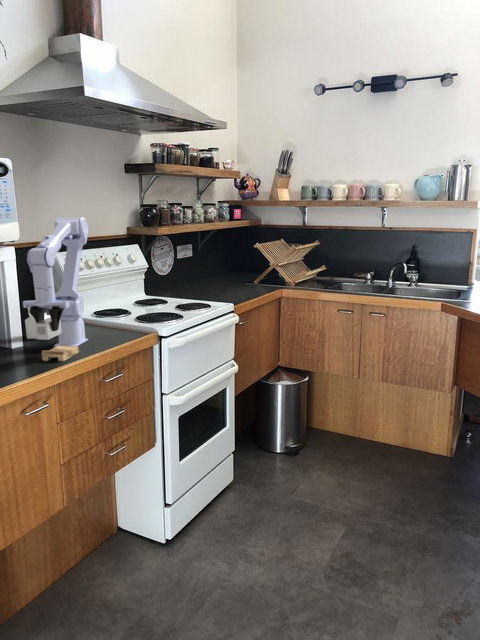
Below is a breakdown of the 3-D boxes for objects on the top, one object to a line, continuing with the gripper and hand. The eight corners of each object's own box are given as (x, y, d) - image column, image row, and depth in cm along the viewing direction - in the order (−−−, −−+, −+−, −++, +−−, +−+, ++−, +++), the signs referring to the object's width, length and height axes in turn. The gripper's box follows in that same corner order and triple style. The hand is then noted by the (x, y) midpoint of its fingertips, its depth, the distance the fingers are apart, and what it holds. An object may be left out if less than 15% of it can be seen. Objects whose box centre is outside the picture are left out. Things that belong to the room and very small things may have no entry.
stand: (58, 351, 171) (57, 342, 170) (78, 352, 169) (77, 343, 169) (42, 360, 161) (41, 351, 160) (63, 361, 160) (62, 351, 159)
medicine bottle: (53, 333, 195) (49, 302, 193) (46, 338, 188) (43, 305, 186) (33, 334, 195) (30, 302, 192) (26, 339, 188) (22, 306, 186)
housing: (50, 332, 168) (48, 317, 167) (61, 333, 168) (60, 317, 167) (36, 339, 161) (34, 323, 159) (48, 339, 160) (46, 323, 159)
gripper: (15, 289, 158) (20, 332, 161) (59, 289, 156) (63, 333, 159) (28, 285, 165) (33, 327, 168) (70, 285, 162) (75, 328, 165)
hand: (48, 330), depth 164 cm, fingers closed on housing, 4 cm apart
